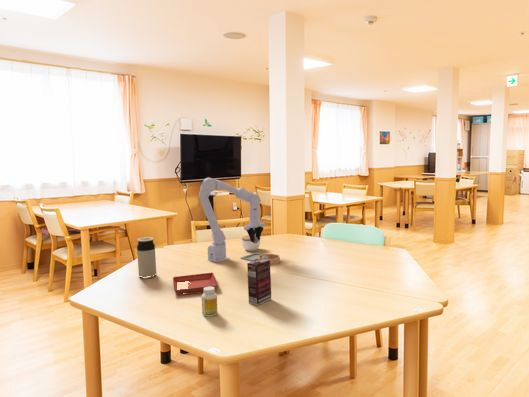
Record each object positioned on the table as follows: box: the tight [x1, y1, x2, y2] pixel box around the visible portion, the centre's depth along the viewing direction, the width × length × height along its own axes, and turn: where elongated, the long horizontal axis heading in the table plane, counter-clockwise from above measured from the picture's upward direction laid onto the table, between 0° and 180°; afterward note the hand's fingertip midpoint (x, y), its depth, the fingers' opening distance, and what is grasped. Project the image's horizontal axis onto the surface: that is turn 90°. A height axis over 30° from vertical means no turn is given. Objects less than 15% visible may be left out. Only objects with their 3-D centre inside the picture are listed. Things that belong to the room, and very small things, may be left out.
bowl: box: [258, 253, 281, 266], centre depth 208 cm, size 11×11×3 cm
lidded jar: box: [241, 235, 261, 252], centre depth 233 cm, size 11×11×9 cm
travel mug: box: [136, 236, 157, 277], centre depth 189 cm, size 8×8×18 cm
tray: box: [240, 252, 263, 262], centre depth 216 cm, size 12×9×1 cm
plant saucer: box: [172, 272, 219, 295], centre depth 173 cm, size 18×18×3 cm
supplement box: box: [246, 258, 272, 307], centre depth 154 cm, size 9×5×16 cm, turn 141°
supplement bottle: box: [201, 286, 218, 317], centre depth 143 cm, size 5×5×10 cm
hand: (255, 241), depth 218 cm, fingers closed on pebble dark, 4 cm apart
